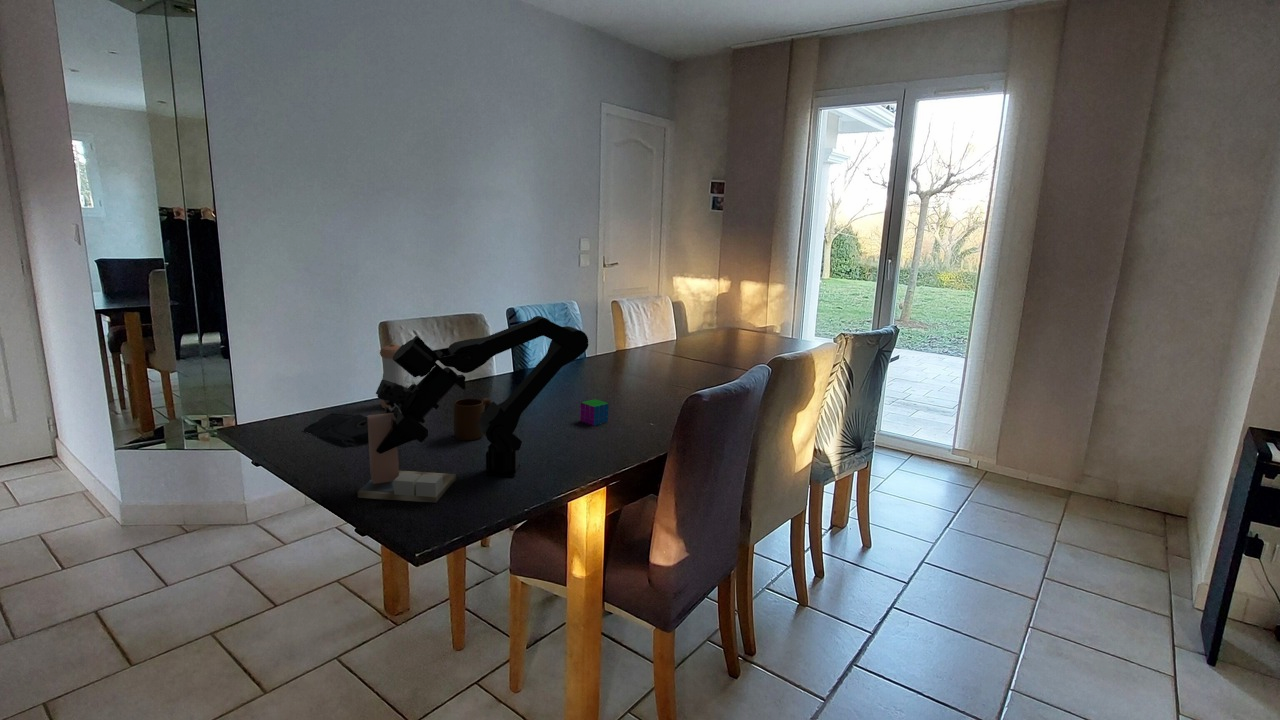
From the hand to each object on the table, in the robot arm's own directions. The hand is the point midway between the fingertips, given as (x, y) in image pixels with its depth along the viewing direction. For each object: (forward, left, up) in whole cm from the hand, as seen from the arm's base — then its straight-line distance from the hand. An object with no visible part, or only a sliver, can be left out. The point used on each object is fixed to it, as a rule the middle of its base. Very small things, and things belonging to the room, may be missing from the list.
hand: (376, 448), depth 128 cm
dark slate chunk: (+23, -34, -10) cm, 42 cm away
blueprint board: (-6, -2, -9) cm, 11 cm away
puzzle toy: (-39, -55, -10) cm, 68 cm away
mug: (-9, -38, -10) cm, 40 cm away
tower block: (-1, -1, -7) cm, 7 cm away
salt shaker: (+22, -59, -10) cm, 64 cm away
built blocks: (-9, +2, -8) cm, 13 cm away
